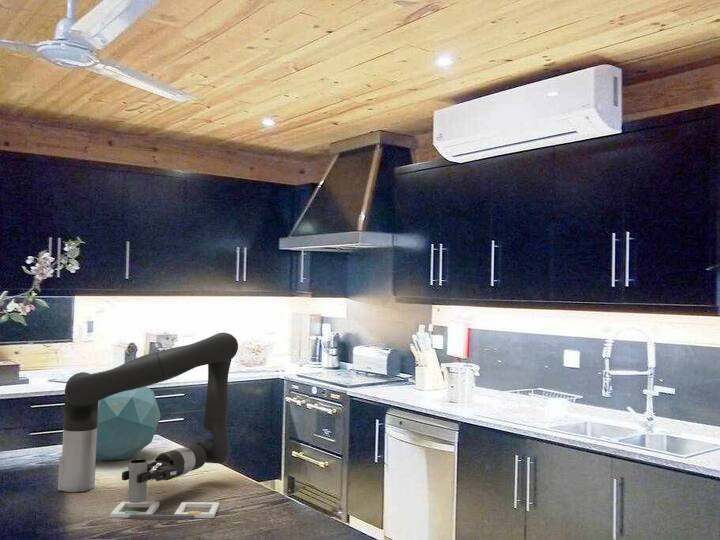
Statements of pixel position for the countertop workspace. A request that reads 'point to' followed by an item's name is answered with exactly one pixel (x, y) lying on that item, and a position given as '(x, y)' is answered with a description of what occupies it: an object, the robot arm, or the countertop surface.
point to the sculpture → (126, 423)
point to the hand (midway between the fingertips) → (130, 477)
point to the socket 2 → (198, 514)
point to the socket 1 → (119, 514)
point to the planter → (136, 489)
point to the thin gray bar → (161, 517)
